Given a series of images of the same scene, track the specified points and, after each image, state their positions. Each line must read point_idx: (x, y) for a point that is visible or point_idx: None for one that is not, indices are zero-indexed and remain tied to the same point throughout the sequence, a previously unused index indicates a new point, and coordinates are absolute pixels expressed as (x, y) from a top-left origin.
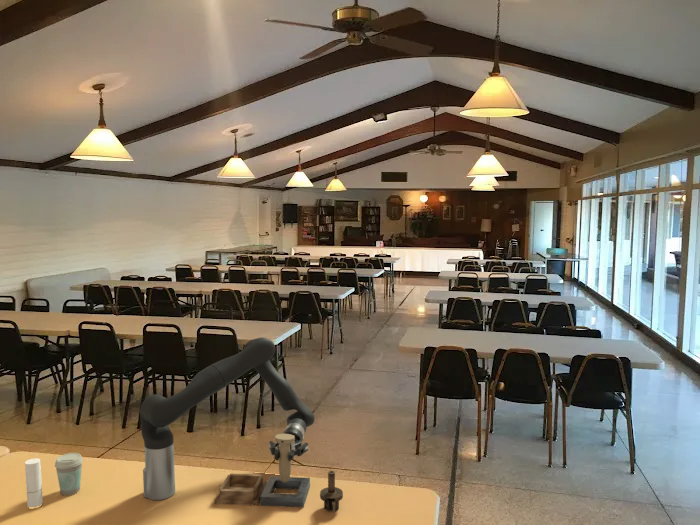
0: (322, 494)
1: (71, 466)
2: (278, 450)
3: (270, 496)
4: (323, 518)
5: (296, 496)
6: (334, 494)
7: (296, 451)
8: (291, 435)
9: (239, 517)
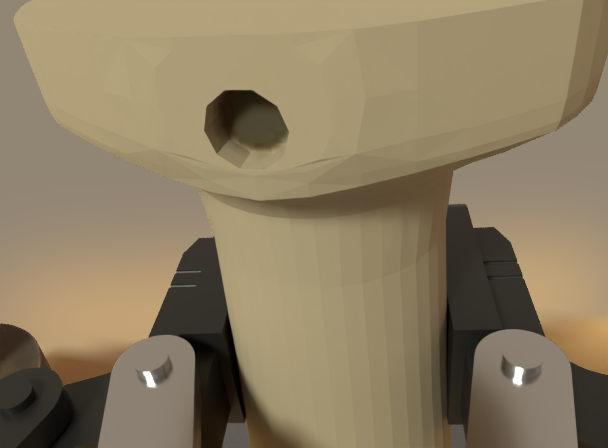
0: (28, 356)
1: None
2: (474, 297)
3: (458, 432)
4: (91, 358)
5: (235, 445)
6: None
7: (102, 381)
8: (96, 16)
9: (598, 335)
